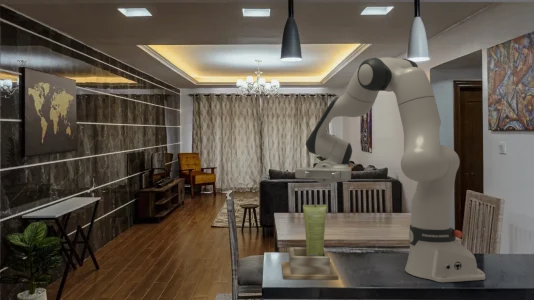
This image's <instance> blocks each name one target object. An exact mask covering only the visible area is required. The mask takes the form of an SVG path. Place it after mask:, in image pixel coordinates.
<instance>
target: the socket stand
mask: <svg viewBox="0 0 534 300" xmlns="http://www.w3.org/2000/svg"><path fill="white" fill-rule="evenodd" d="M281 271H282V279H283V280H334V281H335V280H339V274H338V273H337V271H336V269H335V266H334V265H333V263H332V262H331V257H330V255H329V253H328V251H327V249H326V248H325V247H324V254H323V257H322V256H307V251H306V247H292V246H291V247H290V246H289V247H288V261H281Z"/></svg>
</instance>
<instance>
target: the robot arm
mask: <svg viewBox="0 0 534 300" xmlns="http://www.w3.org/2000/svg"><path fill="white" fill-rule="evenodd" d="M379 92H393V93H394V95H395V99H396V103H397V107H398V112H399V116H400V121H401V125H402V130H403V155H402V157H401V159H400V167H401V171H402V173H403V174H404V176H406V178H408V179H409V180H412V181H415V182H417V185H416V189H415V192H414V194H413V196H412V198H411V210H410V211H411V216H410V217H411V218H410V221H411V222H410V223H411V224H409V232H408V237H409V238H408V240H409V251H408V257H407V262H406V265H405V268H404V271H405V272H406V273H407V274H410V275H411V276H414V277H418V278H422V279H426V280H427V279H428V280H431V281H434V282H438V283H451V282H453V283H454V282H469V281H482V280H483V281H484V280H486V273H485V272H484V271H482V270H481V269H480V268H478V264H477V259H476V257H475V255H474V253H472V252H471V251H470V250H469V249H468V248H466V247H465V246H464V245H463V244H461V243H460V242H459V241H458V240H457V239H456V238H458V239H461V238H462V237H463V235H464V234H463V232H462V230H458V229H454V228H452V227H451V204H452V202H451V201H452V195H453V191H454V187H455V181H456V175H457V172H458V170H459V168H460V162H461V161H460V157H459V155H458V153H457V152H456V151H455V150H454V149H453V148H450V147H448V146H447V145H444V144H440V143H441V141H440V140H441V139H440V127H441V125H442V124H441V123H442V122H441V117H440V116H441V115H440V113H439V109H438V105H437V102H436V97H435V94H434V89H433V87H432V85H431V82H430V80H429V77H428V75H427V73H426V71H425V70H424V69H422V68H421V67H419V65H418V64H417V63H416V62H414V61H413V60H411V59H408V58H398V57H397V58H396V57H390V56H388V57H387V56H386V57H371V58H368V59H365V60H363V61H362V62H361V63H360V64H359V66H358V67H357V69H356V70H355V72H354V73H353V75H352V76H351V78H350V80H349V83H348V84H347V87H346V89H345V91H344V93H343V94H342V95H341V96H336V97H335V98H333V99H332V100H331V102H330V103H329V105H328V106H327V108H326V109H325V110H324V112H323V114H322V116H321V117H320V119H319V120H318V122H317V123H316V125H315V127H314V129H313V130H312V131H311V132H310V133H309V135H308V136H307V138H306V139H305V146H306V149H307V151H308V152H309V154H314V155H316V156H320V157H322V158H324V160H322V161H319V162H318V163H316V164H315V166H313V167H308V166H307V167H306V166H305V167H297V168H295V170H294V175H295V179H312V180H313V179H314V180H315V181H317V182H318V183H319V184H322V185H329V184H334V183H345V182H348V181H351V179H352V169H351V167H350V166H349V163H350V161H351V158H352V155H353V148H352V144H351V143H350V142H348V141H347V140H345V139H342V138H340V137H337V136H335V135H333V134H331V133H329V132H327V131H326V130H327V129H328V127H329V125H330V123H331V122H332V120H333V119H334V118H337V117H345V118H346V117H347V118H348V117H349V118H358V117H362V116H364V115H367V114H368V113H369V112H370V111H371V109H372V108H373V106H374V103H376V102H375V101H376V99H377V97H378V95H379Z"/></svg>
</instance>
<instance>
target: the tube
mask: <svg viewBox="0 0 534 300" xmlns="http://www.w3.org/2000/svg"><path fill="white" fill-rule="evenodd" d="M327 208H328V205H327V204H303V205H302V211H303V218H304V219H303V220H304V229H305V245H306V247H305V248H306V251H307V256H322V257H323V254H324V248H325V247H324V246H325V230H326V229H325V228H326V218H327V217H326V216H327Z"/></svg>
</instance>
